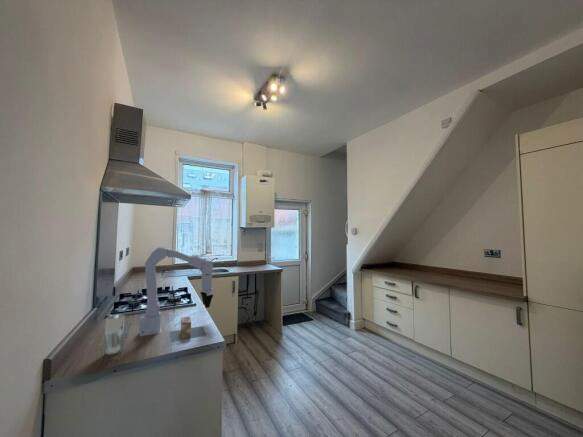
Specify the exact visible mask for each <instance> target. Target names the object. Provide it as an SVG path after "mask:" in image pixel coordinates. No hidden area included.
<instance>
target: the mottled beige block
mask: <svg viewBox="0 0 583 437" xmlns="http://www.w3.org/2000/svg"><path fill="white" fill-rule="evenodd" d="M191 328H192V320H191V317H190V316H184V317H183V316H182V317H180V330H181V335H182V338H185V337H190V336H191Z"/></svg>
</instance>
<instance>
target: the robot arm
mask: <svg viewBox="0 0 583 437" xmlns="http://www.w3.org/2000/svg"><path fill="white" fill-rule="evenodd" d="M166 257H167V258H168V259H169V258H176V259H178V260H181V261H184V262H187V263H188V265H189V266H192V267H195V268H197V269H201V284H200V285H201V286H200V287H201V289H200V295H201V298H202V299H201V300H202V303H203V304H202V305H204V307H205V308H206V309H207V308H210V306H211V303H212V299H213V297H214V294H213V293H212V292H213V291H214V290H215V289H214V288H213V268H214V263H212V261H210V260H208V259H207V258H202V257H200V256H199V255H197V254H195V255H194V254H193V255H191V256H190V255H188V254H185V253H182V252H180V251H178V250H175V249H172V248H168V247H167V248H166V247H164V246H159V247H157V248H155V250H153V251H152V252H151V253H150V255H149V256H148V257H147V259H146V261H145V264H144V267H145V268H144V269H145V283H146V284H145V285H146V297H147V300H146V301H147V302H146V307H145V314H144V315H143V316H140V319H139V320H140V321H139V337H140V338H141V337H143V336H144V337H145V336H151V335H155V334H156V335H157V334H160V333H162V327H161V320H162V319H161V317H162V313H161V311H160V307H161V302H160V301H159V297H158V286H157V285H158V284H157V274H156V265H158V263H160V262H161V261H162V260H164V259H166ZM211 293H212V294H211Z"/></svg>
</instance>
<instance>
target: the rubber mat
mask: <svg viewBox="0 0 583 437" xmlns="http://www.w3.org/2000/svg"><path fill="white" fill-rule="evenodd" d="M206 333H207V332H206V331H205V329H204V327H203V325H201V326H195V327H191V336H190V337H185V338H182V335H181V329H179V330H171V331H169V337H170V343H175V342H179V341H184V340H185V341H186V340H190V339H195V338H199V337H206V336H207V334H206Z"/></svg>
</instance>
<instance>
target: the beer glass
mask: <svg viewBox="0 0 583 437" xmlns="http://www.w3.org/2000/svg"><path fill="white" fill-rule="evenodd" d="M125 317H126V316H125V314H122V313H117V314H111V315H109V316H107V317H106V319H105V326H104V328H105V330H104V332H105V338H106V350H105V355H108V356H112V355H116V354H119V353H121V352H122V351H123V350H124V349H123V337H124V334H125V333H124V332H125V326H126V319H125Z"/></svg>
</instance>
